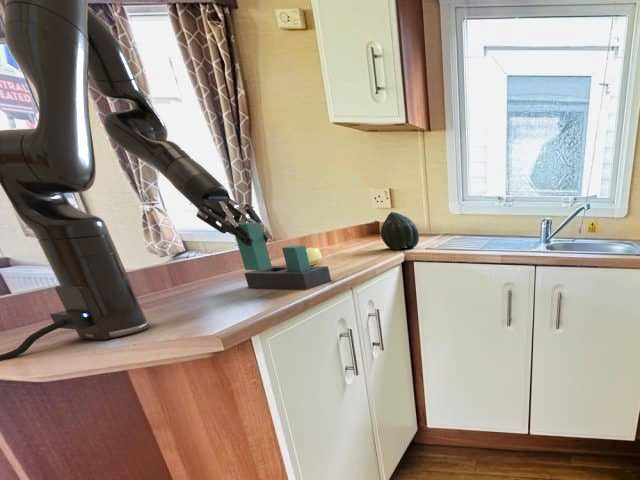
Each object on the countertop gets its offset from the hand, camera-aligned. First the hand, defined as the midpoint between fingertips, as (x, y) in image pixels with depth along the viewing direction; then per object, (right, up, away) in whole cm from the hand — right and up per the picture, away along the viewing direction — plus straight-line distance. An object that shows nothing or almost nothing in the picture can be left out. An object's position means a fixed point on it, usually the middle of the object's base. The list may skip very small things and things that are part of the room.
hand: (258, 241), depth 96 cm
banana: (-15, +8, +48) cm, 51 cm away
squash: (+12, +24, +80) cm, 85 cm away
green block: (-2, -5, +3) cm, 6 cm away
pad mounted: (+1, -5, +19) cm, 19 cm away
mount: (-3, -5, +20) cm, 20 cm away
